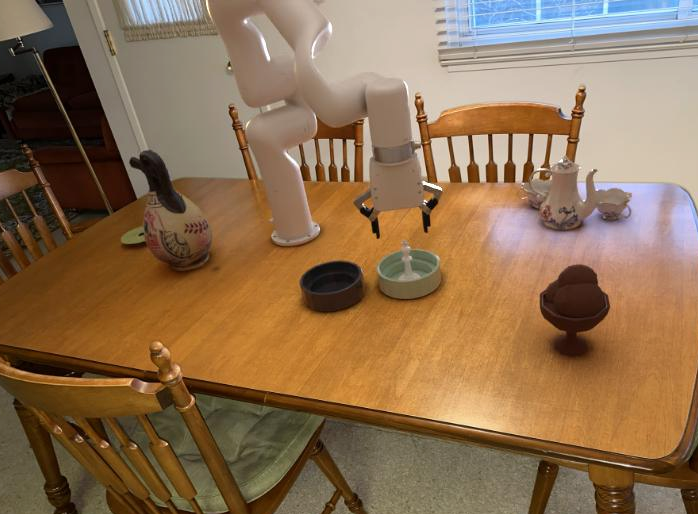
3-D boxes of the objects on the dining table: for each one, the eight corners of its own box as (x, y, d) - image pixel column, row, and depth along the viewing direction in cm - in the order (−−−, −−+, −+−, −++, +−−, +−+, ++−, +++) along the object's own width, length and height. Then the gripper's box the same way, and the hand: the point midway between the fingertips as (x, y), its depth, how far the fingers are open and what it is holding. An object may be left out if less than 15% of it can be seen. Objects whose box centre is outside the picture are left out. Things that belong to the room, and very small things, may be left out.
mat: (131, 253, 148) (128, 247, 147) (117, 242, 156) (114, 236, 154) (170, 237, 154) (168, 230, 152) (155, 226, 161) (152, 220, 160)
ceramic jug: (147, 268, 139) (97, 154, 123) (199, 242, 148) (159, 132, 131) (181, 287, 129) (131, 165, 112) (235, 258, 138) (196, 140, 121)
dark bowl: (291, 300, 118) (286, 282, 115) (336, 272, 125) (332, 254, 123) (333, 320, 110) (328, 301, 107) (378, 288, 117) (375, 270, 115)
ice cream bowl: (528, 332, 98) (529, 259, 90) (590, 322, 98) (597, 249, 90) (548, 371, 89) (552, 294, 81) (616, 360, 89) (626, 282, 81)
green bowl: (366, 288, 118) (363, 270, 115) (407, 260, 125) (404, 243, 123) (413, 307, 110) (411, 288, 107) (453, 276, 117) (452, 258, 114)
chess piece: (419, 287, 115) (414, 245, 109) (396, 287, 116) (390, 246, 110) (422, 275, 119) (418, 233, 113) (400, 275, 120) (394, 234, 114)
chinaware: (636, 215, 131) (647, 145, 123) (620, 241, 119) (630, 165, 111) (522, 202, 145) (525, 138, 137) (498, 224, 133) (499, 155, 125)
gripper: (437, 138, 104) (442, 219, 114) (346, 149, 105) (359, 229, 115) (442, 152, 98) (447, 236, 108) (346, 164, 99) (359, 247, 108)
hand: (401, 232), depth 111 cm, fingers open, 9 cm apart
